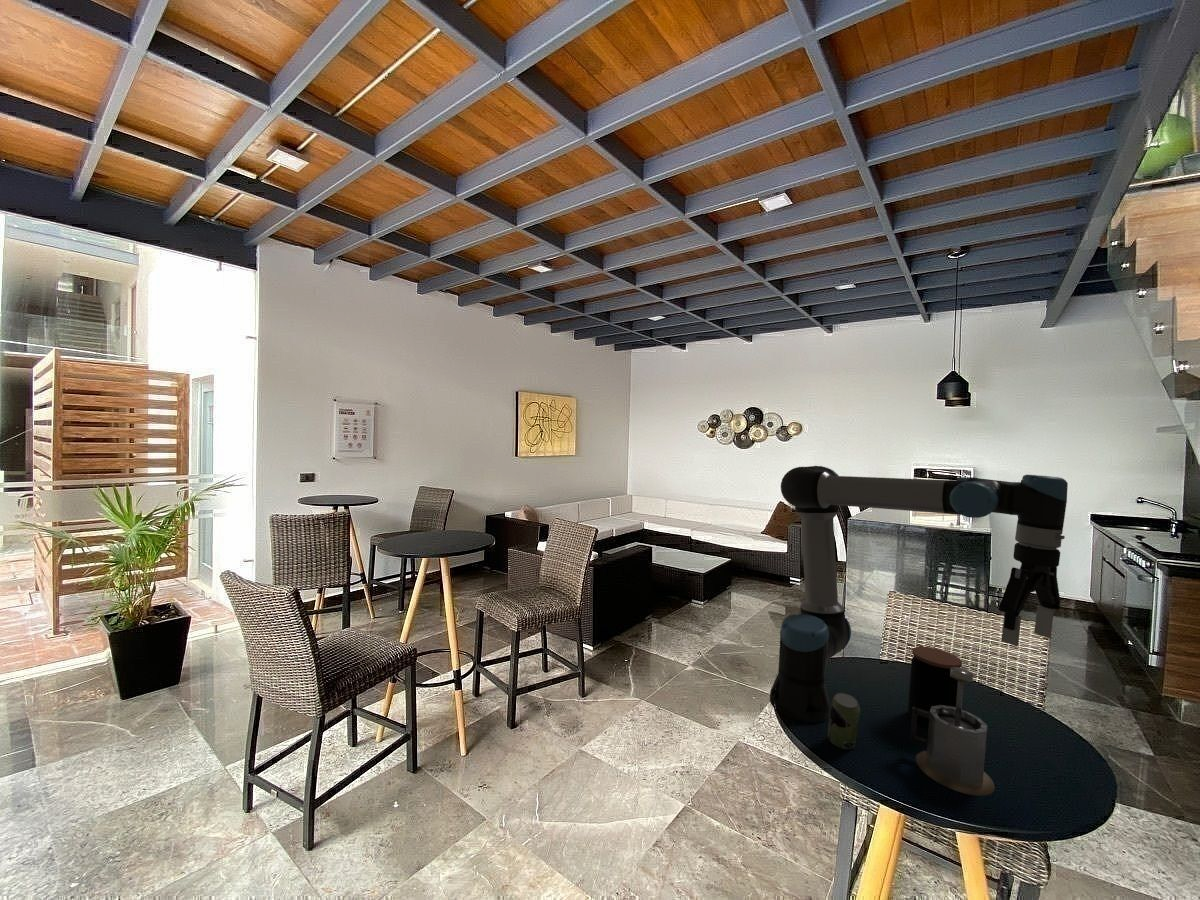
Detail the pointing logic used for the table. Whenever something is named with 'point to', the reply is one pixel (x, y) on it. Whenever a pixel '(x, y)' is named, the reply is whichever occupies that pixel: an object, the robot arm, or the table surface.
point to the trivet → (981, 791)
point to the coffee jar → (931, 681)
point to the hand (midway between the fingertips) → (1026, 639)
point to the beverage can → (843, 721)
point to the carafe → (953, 746)
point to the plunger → (959, 697)
